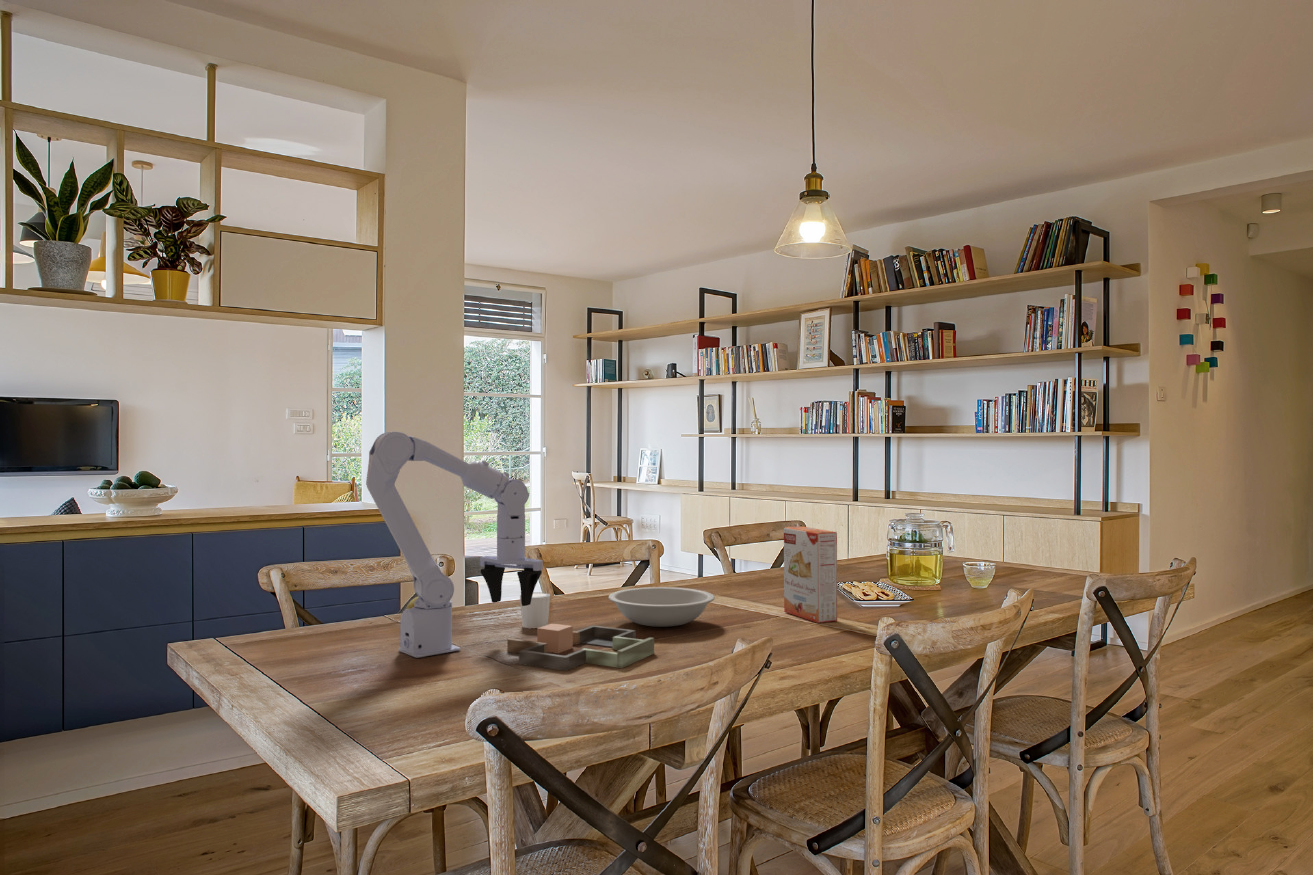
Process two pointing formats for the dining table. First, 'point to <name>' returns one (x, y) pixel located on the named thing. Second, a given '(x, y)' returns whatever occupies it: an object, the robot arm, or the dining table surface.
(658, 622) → the soup bowl
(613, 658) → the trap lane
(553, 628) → the block
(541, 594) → the white cup
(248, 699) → the dining table surface
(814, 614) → the cracker box
